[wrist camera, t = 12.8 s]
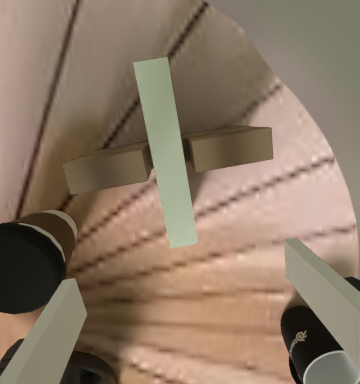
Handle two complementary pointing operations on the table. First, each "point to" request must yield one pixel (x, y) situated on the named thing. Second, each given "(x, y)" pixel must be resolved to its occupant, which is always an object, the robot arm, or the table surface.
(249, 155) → the slotted board
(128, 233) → the table surface
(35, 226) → the coffee cup
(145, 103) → the sage plate
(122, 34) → the table surface
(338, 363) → the mug
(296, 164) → the table surface
